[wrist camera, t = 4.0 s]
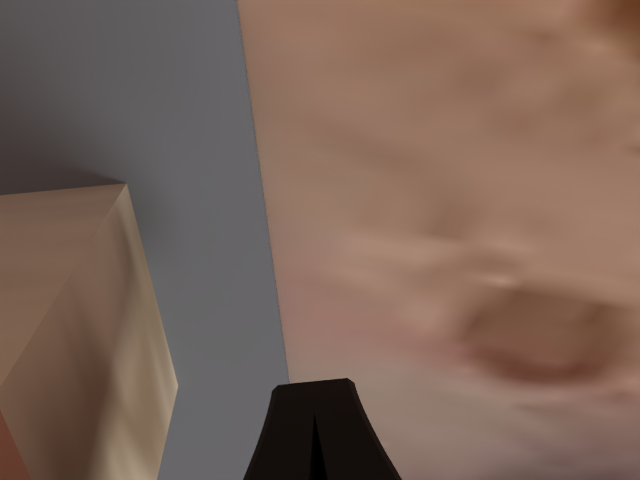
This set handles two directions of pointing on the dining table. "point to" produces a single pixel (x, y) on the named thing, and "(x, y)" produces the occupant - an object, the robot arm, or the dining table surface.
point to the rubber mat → (161, 189)
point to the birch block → (79, 340)
